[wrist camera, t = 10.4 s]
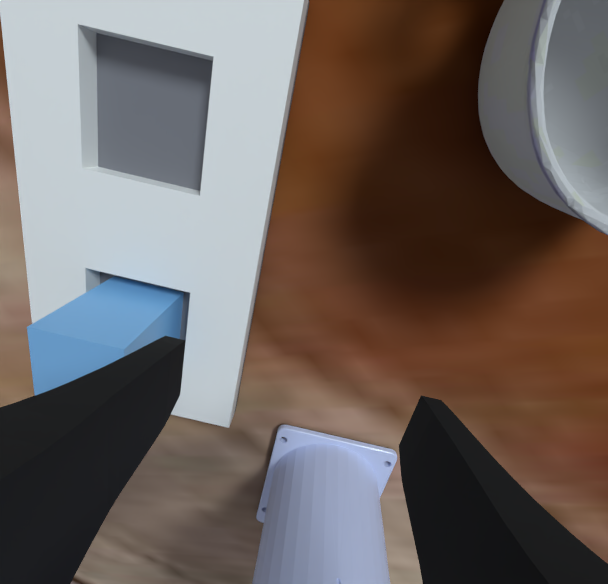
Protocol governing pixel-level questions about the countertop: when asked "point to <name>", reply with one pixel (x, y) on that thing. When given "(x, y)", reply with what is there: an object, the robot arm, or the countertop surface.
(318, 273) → the countertop surface
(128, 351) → the plug
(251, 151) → the panel
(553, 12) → the teacup
